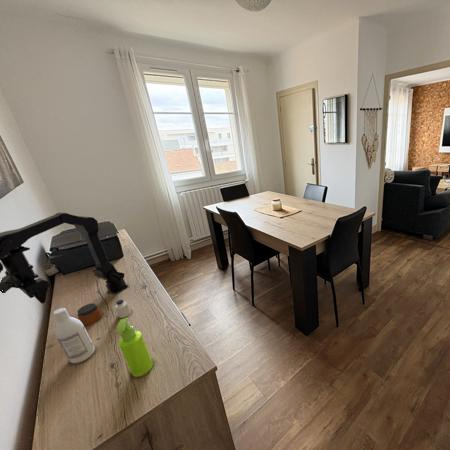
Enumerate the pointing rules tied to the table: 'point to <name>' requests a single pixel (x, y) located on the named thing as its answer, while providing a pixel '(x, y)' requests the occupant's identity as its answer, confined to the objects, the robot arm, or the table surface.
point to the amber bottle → (89, 314)
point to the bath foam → (72, 337)
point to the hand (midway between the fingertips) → (37, 300)
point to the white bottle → (122, 309)
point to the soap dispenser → (134, 349)
